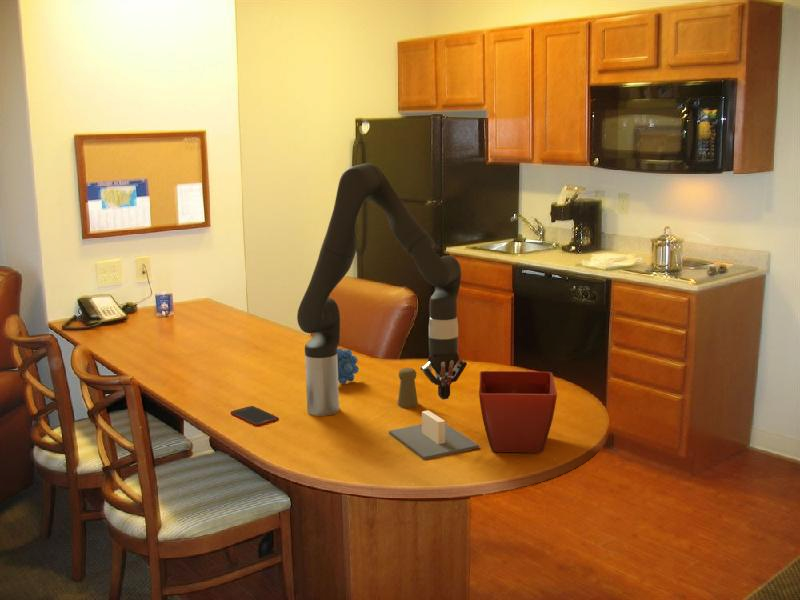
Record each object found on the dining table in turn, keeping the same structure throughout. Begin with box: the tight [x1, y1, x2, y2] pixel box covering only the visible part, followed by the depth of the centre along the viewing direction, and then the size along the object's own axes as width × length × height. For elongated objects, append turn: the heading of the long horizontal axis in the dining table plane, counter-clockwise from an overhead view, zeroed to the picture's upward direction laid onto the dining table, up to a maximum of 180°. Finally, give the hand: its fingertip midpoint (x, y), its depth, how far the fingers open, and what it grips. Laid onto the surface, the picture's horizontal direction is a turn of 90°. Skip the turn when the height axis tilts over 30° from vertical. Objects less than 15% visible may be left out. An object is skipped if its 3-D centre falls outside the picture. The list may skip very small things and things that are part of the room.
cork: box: [397, 367, 419, 409], centre depth 252 cm, size 6×6×11 cm
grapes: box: [337, 347, 360, 385], centre depth 270 cm, size 12×7×12 cm, turn 127°
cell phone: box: [230, 405, 280, 427], centre depth 245 cm, size 8×15×1 cm, turn 42°
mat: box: [388, 423, 480, 461], centre depth 225 cm, size 20×16×1 cm
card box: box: [421, 410, 446, 444], centre depth 225 cm, size 9×2×6 cm, turn 27°
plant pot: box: [478, 370, 558, 454], centre depth 221 cm, size 19×19×17 cm
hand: (444, 398), depth 224 cm, fingers closed
